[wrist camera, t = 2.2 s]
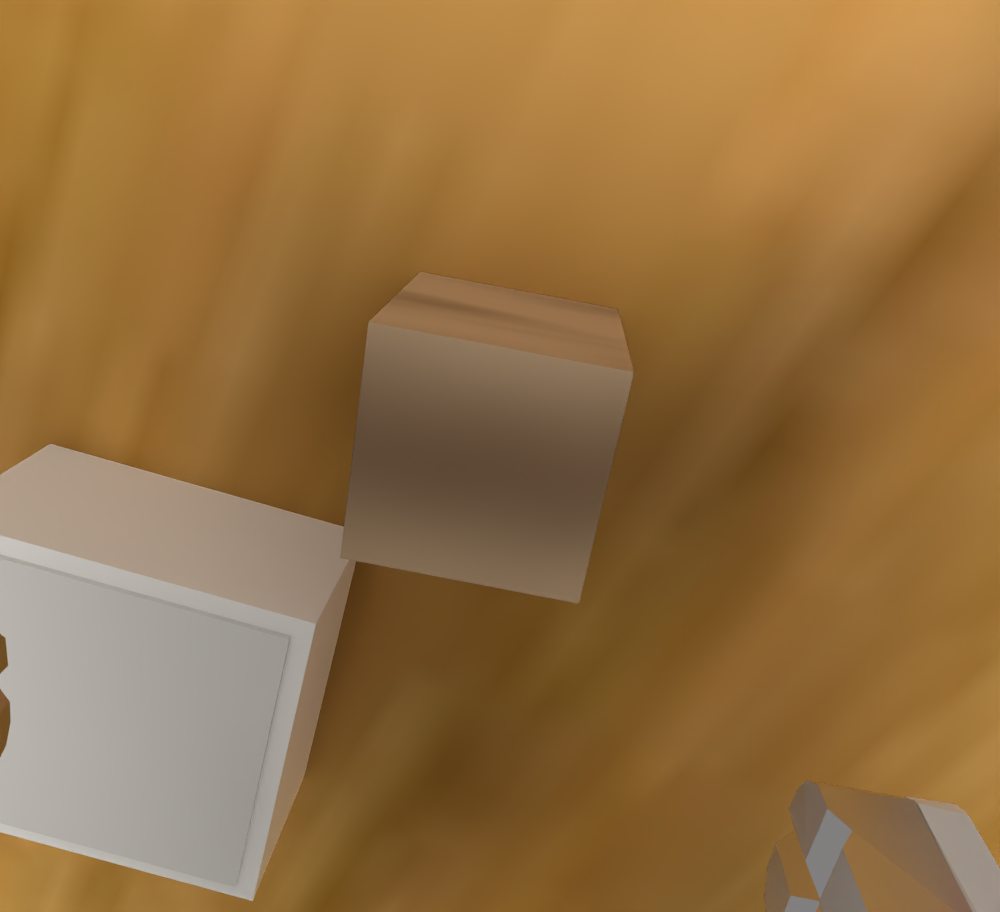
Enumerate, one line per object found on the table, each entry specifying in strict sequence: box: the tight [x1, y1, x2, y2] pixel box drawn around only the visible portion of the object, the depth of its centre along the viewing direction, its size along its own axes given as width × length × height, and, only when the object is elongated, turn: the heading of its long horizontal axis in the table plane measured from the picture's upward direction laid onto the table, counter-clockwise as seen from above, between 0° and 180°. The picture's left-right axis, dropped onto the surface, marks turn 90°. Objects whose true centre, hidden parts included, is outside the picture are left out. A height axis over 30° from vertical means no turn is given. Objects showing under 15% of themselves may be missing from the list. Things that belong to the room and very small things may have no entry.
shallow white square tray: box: [0, 444, 356, 901], centre depth 24 cm, size 9×9×5 cm
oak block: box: [340, 272, 634, 604], centre depth 20 cm, size 5×5×6 cm
